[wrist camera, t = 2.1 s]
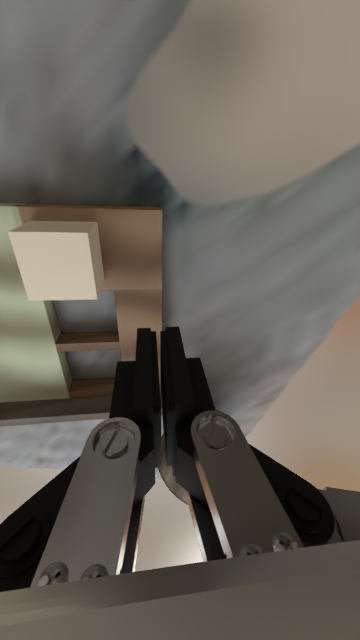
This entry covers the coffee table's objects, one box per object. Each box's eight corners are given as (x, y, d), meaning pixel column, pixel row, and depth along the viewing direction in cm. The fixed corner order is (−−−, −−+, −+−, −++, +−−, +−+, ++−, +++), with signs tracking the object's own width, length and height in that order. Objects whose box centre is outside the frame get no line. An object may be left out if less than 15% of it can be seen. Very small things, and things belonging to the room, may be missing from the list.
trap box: (-124, 199, 19) (-190, 207, 16) (160, 207, 22) (164, 215, 18) (-19, 397, 31) (-42, 429, 27) (161, 386, 33) (163, 414, 30)
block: (31, 220, 20) (7, 231, 16) (97, 221, 20) (87, 232, 17) (46, 280, 22) (28, 300, 19) (104, 279, 23) (97, 299, 19)
